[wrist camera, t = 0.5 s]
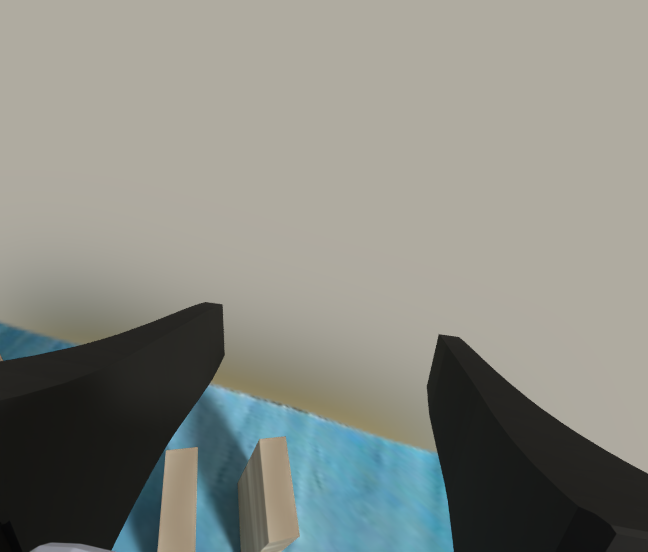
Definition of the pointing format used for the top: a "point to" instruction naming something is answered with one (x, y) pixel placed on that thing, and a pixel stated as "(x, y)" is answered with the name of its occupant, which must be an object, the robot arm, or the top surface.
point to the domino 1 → (179, 501)
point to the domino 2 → (267, 499)
